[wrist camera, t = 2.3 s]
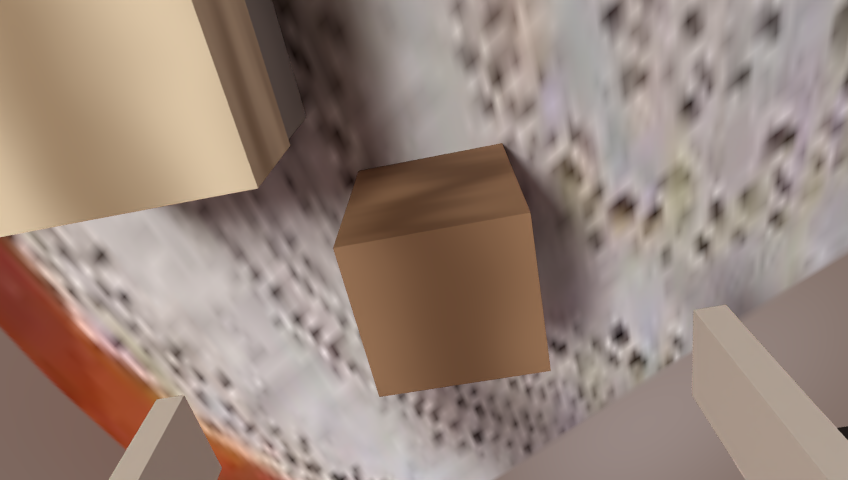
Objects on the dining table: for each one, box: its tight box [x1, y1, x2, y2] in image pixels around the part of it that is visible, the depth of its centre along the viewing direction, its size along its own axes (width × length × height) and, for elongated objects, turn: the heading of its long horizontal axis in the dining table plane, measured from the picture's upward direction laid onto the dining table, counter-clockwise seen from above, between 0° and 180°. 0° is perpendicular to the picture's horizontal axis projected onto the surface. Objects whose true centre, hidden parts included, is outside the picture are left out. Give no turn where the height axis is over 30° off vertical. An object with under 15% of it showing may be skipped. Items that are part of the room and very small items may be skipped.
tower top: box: [0, 0, 290, 237], centre depth 15 cm, size 9×9×4 cm
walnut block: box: [333, 143, 551, 397], centre depth 21 cm, size 6×6×7 cm
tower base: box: [245, 0, 306, 140], centre depth 19 cm, size 9×9×4 cm
